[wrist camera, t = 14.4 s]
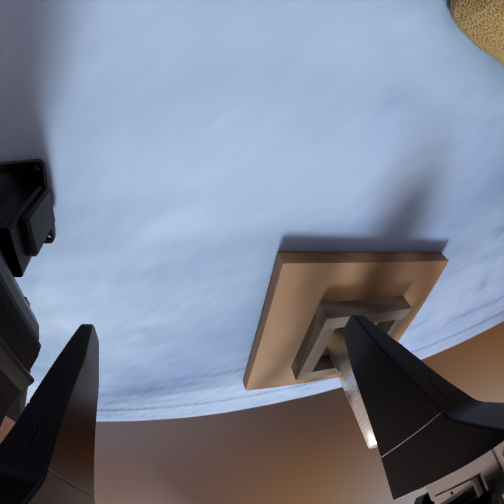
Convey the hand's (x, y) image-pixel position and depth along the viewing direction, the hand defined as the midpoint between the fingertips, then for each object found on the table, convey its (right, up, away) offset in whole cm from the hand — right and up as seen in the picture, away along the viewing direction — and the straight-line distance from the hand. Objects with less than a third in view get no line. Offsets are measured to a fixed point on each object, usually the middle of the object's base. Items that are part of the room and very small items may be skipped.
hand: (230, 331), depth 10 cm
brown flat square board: (+11, -5, +24) cm, 27 cm away
